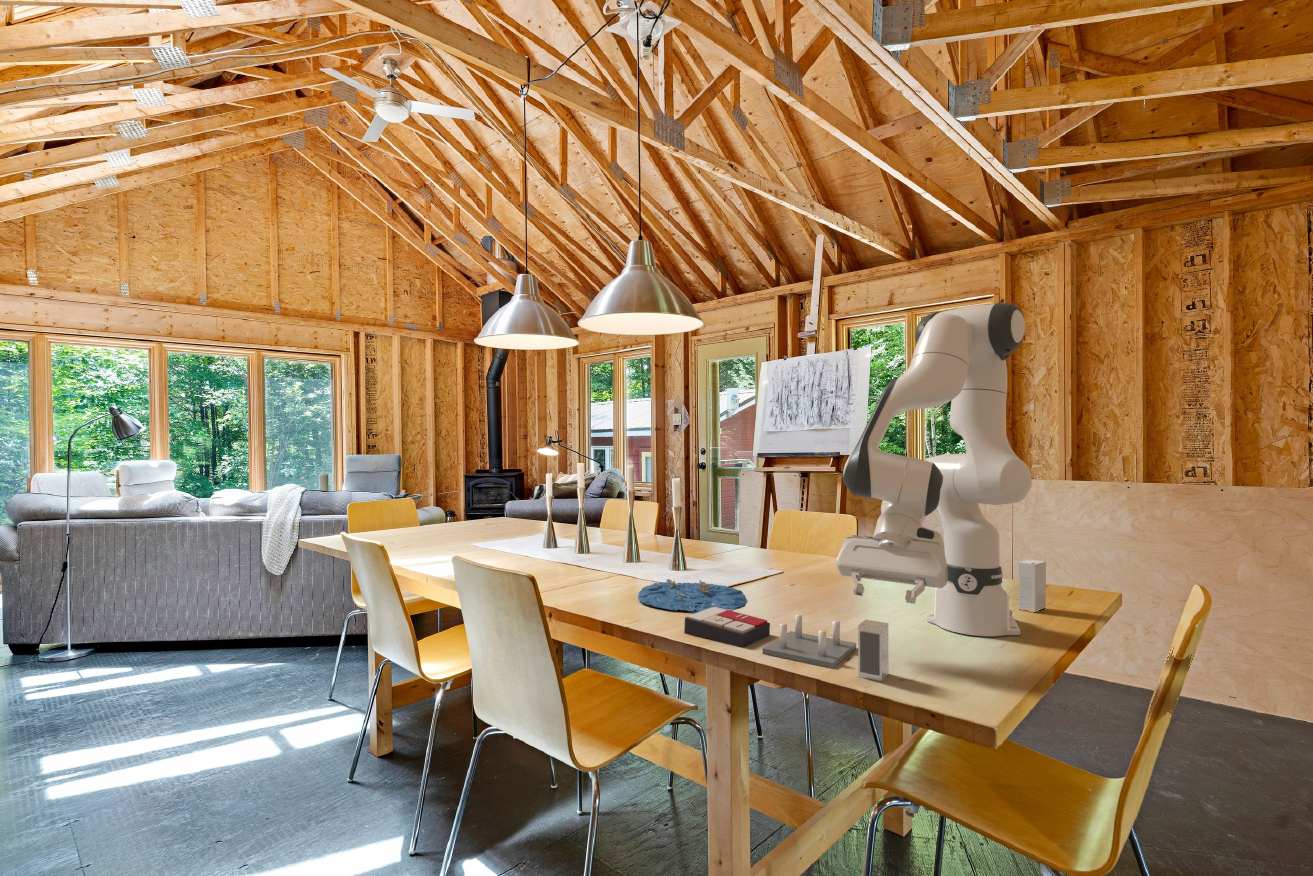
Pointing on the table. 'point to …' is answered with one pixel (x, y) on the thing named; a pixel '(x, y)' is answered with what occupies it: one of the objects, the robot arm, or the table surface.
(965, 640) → the table surface
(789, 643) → the pin tray
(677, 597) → the blue sea diorama
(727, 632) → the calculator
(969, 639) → the table surface
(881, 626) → the block
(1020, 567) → the skincare box
